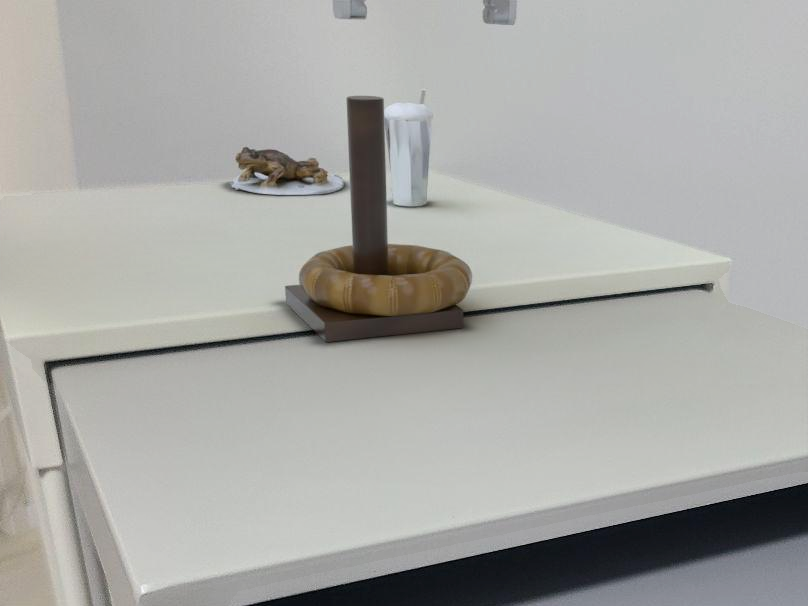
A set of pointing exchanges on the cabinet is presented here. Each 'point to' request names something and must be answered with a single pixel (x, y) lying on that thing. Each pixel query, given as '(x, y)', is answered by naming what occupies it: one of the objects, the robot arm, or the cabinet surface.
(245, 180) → the frog figurine
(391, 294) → the ring
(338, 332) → the post
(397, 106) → the milkshake
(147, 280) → the cabinet surface
